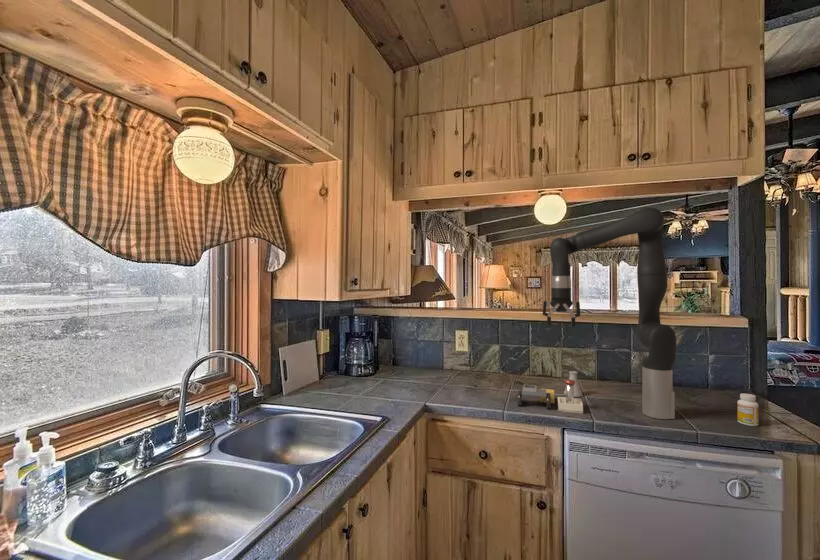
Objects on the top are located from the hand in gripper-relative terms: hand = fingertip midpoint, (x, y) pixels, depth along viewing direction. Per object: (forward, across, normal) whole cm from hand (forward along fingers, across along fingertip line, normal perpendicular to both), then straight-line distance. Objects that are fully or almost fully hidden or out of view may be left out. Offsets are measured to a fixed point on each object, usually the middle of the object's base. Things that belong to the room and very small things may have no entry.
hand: (561, 326), depth 155 cm
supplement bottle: (+30, +59, -7) cm, 67 cm away
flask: (+30, +5, +8) cm, 32 cm away
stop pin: (+29, +3, -11) cm, 31 cm away
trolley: (+30, -10, -11) cm, 34 cm away
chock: (+30, -5, -4) cm, 31 cm away
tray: (+30, +3, -11) cm, 32 cm away
